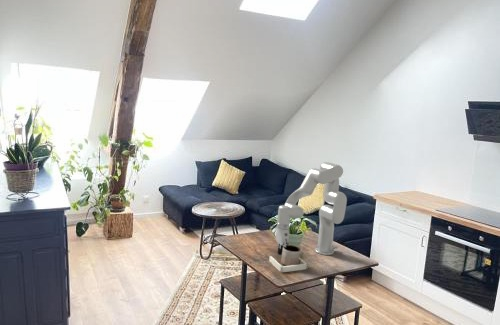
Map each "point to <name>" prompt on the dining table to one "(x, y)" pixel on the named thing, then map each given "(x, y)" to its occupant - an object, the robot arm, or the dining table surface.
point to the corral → (301, 266)
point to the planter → (290, 255)
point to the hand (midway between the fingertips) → (280, 254)
